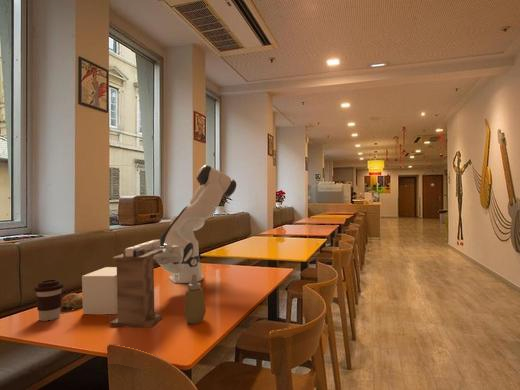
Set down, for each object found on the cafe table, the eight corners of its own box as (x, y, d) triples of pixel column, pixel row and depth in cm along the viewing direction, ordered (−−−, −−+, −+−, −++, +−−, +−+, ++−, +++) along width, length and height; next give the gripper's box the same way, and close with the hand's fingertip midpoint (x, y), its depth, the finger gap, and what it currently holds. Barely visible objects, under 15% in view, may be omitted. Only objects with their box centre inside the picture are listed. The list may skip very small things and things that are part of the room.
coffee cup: (45, 314, 145) (45, 278, 145) (68, 314, 145) (68, 278, 145) (29, 322, 135) (28, 284, 135) (54, 322, 135) (53, 284, 135)
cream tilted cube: (106, 301, 161) (105, 267, 161) (135, 301, 160) (134, 267, 160) (82, 314, 143) (81, 276, 143) (114, 315, 142) (114, 276, 142)
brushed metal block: (153, 246, 154) (153, 239, 154) (160, 246, 154) (160, 239, 154) (125, 256, 128) (125, 248, 129) (133, 256, 128) (132, 248, 128)
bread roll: (86, 314, 155) (91, 296, 158) (68, 311, 146) (74, 291, 150) (69, 312, 158) (75, 294, 161) (50, 309, 149) (57, 290, 153)
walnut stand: (131, 311, 146) (130, 245, 146) (168, 311, 144) (166, 244, 144) (108, 327, 128) (107, 252, 128) (150, 328, 126) (148, 251, 127)
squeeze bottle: (185, 318, 136) (184, 272, 136) (206, 317, 137) (205, 271, 137) (183, 326, 128) (181, 277, 128) (205, 324, 129) (204, 276, 129)
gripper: (145, 250, 167) (133, 239, 155) (187, 250, 164) (178, 238, 153) (143, 263, 163) (130, 252, 152) (185, 263, 161) (175, 252, 149)
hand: (154, 245), depth 152 cm, fingers open, 8 cm apart
